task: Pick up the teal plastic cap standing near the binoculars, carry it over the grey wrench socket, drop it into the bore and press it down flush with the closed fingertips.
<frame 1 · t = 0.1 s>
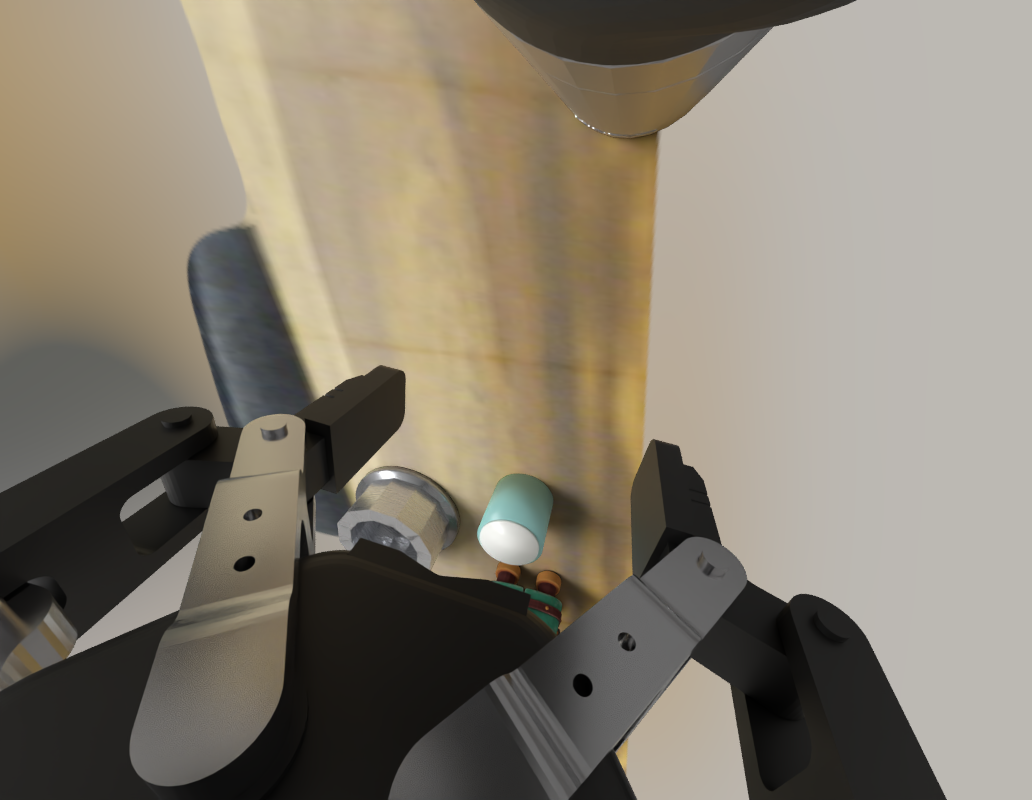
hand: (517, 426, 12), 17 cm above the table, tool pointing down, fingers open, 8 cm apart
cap: (523, 496, 38), on the table
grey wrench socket: (409, 509, 43), on the table
binoculars: (528, 587, 45), on the table
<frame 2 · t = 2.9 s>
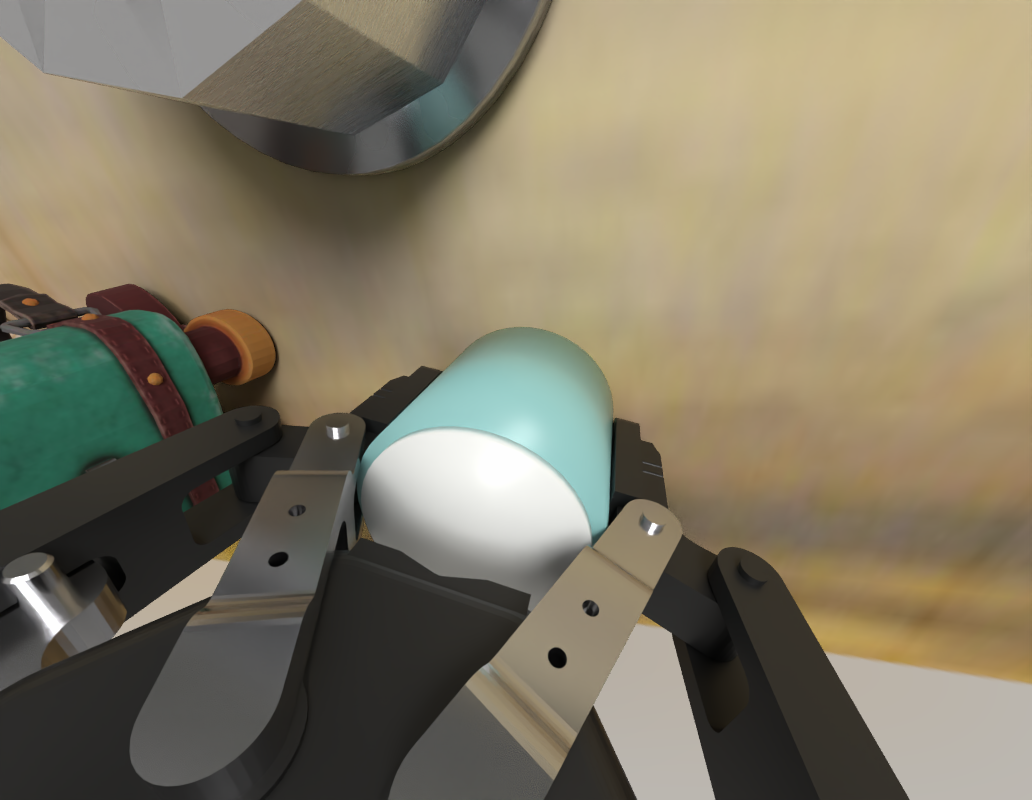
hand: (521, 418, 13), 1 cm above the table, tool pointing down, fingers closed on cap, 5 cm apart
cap: (526, 408, 13), on the table, touching gripper
binoculars: (207, 379, 17), on the table
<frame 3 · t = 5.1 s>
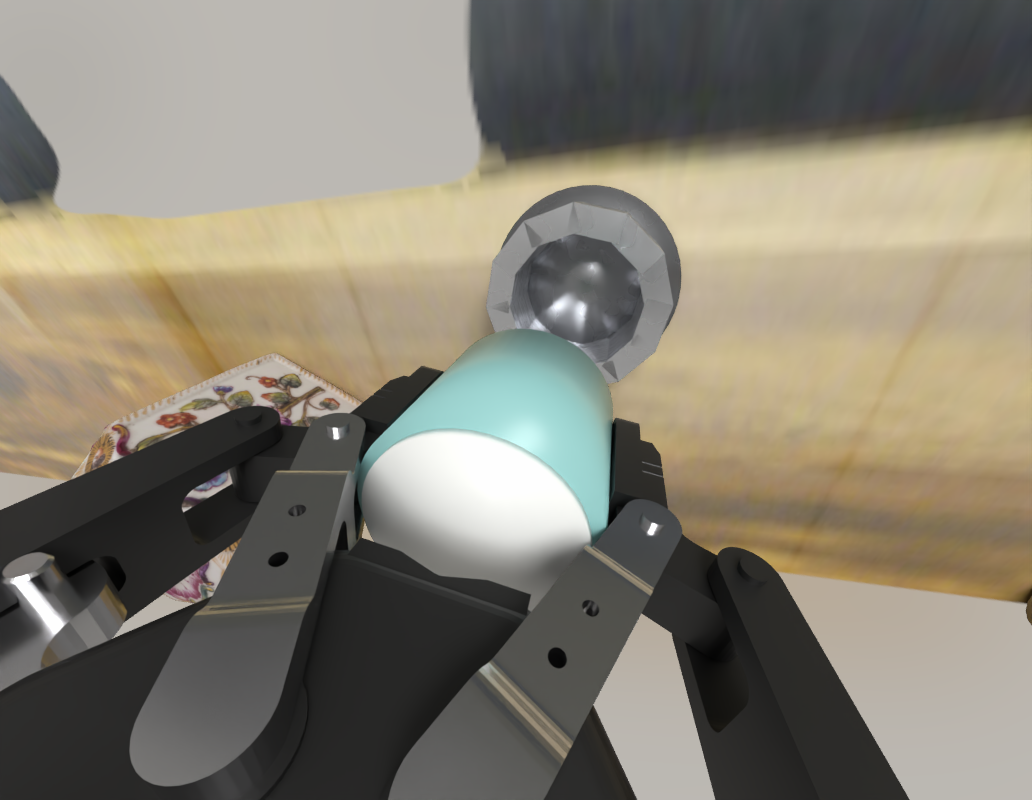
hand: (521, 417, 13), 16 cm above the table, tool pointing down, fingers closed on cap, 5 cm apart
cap: (526, 409, 13), point 15 cm above the table, touching gripper
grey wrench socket: (583, 287, 26), on the table
decorative jar: (318, 422, 39), on the table
when the fingers open (6 cm above the table, at t = 7.1 s): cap drops 5 cm, resting on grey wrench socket.
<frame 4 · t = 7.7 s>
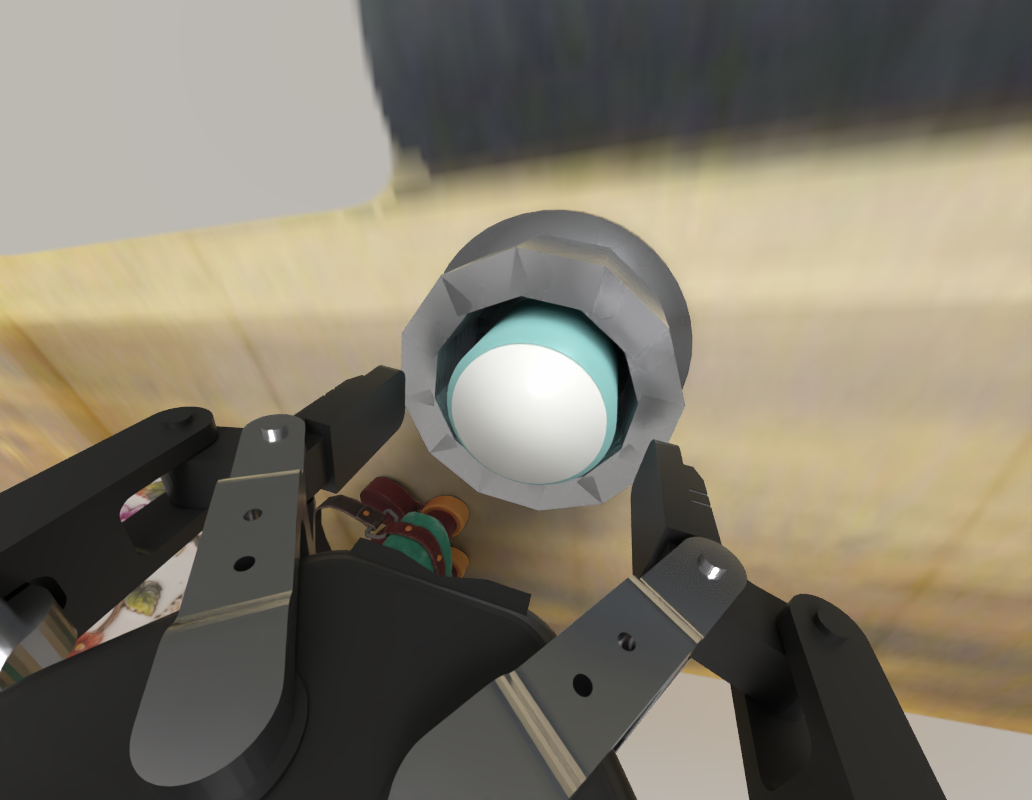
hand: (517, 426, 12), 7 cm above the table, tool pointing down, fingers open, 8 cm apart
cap: (553, 357, 18), point 1 cm above the table, touching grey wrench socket
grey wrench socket: (552, 349, 18), on the table
binoculars: (411, 520, 27), on the table
decorative jar: (237, 499, 31), on the table
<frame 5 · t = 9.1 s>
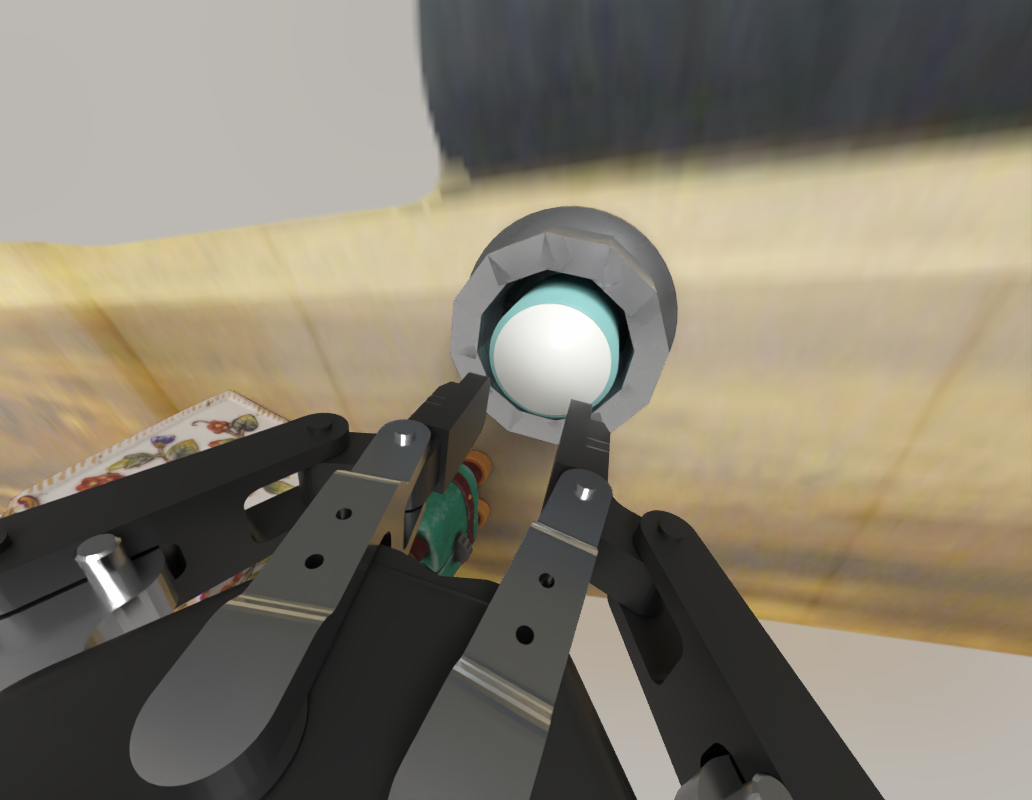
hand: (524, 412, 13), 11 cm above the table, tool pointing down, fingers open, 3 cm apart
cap: (566, 325, 22), point 1 cm above the table, touching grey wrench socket
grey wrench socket: (565, 320, 23), on the table
binoculars: (440, 475, 31), on the table
decorative jar: (283, 462, 35), on the table
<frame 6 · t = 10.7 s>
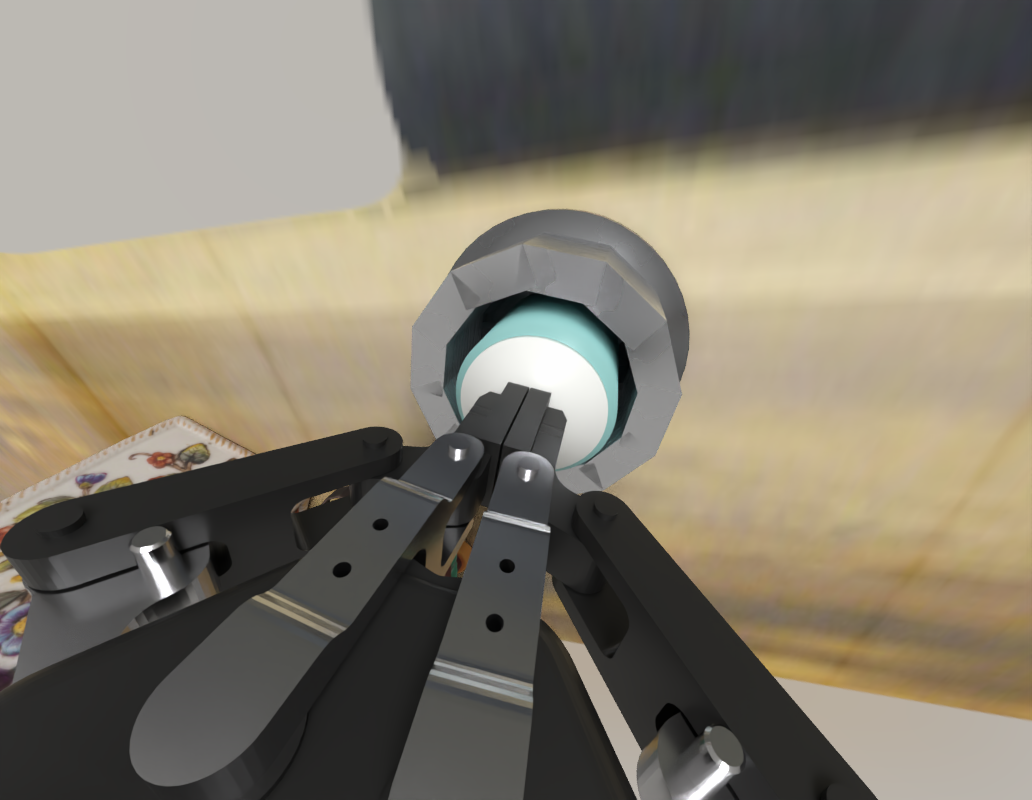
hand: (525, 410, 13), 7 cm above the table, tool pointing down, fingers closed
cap: (556, 351, 18), point 1 cm above the table, touching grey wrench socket
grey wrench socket: (555, 344, 19), on the table
binoculars: (416, 512, 28), on the table
decorative jar: (245, 493, 32), on the table
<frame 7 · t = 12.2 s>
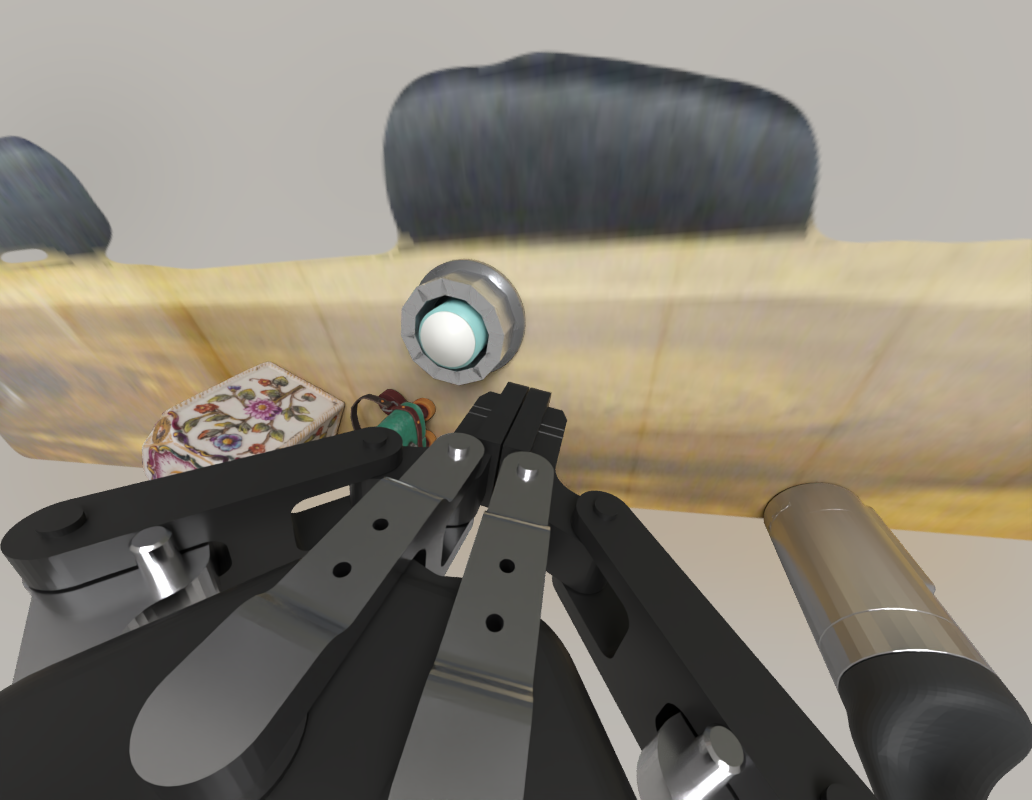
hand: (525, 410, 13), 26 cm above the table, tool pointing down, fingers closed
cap: (468, 321, 40), point 1 cm above the table, touching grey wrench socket
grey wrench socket: (469, 319, 41), on the table
binoculars: (404, 416, 49), on the table
decorative jar: (302, 411, 53), on the table
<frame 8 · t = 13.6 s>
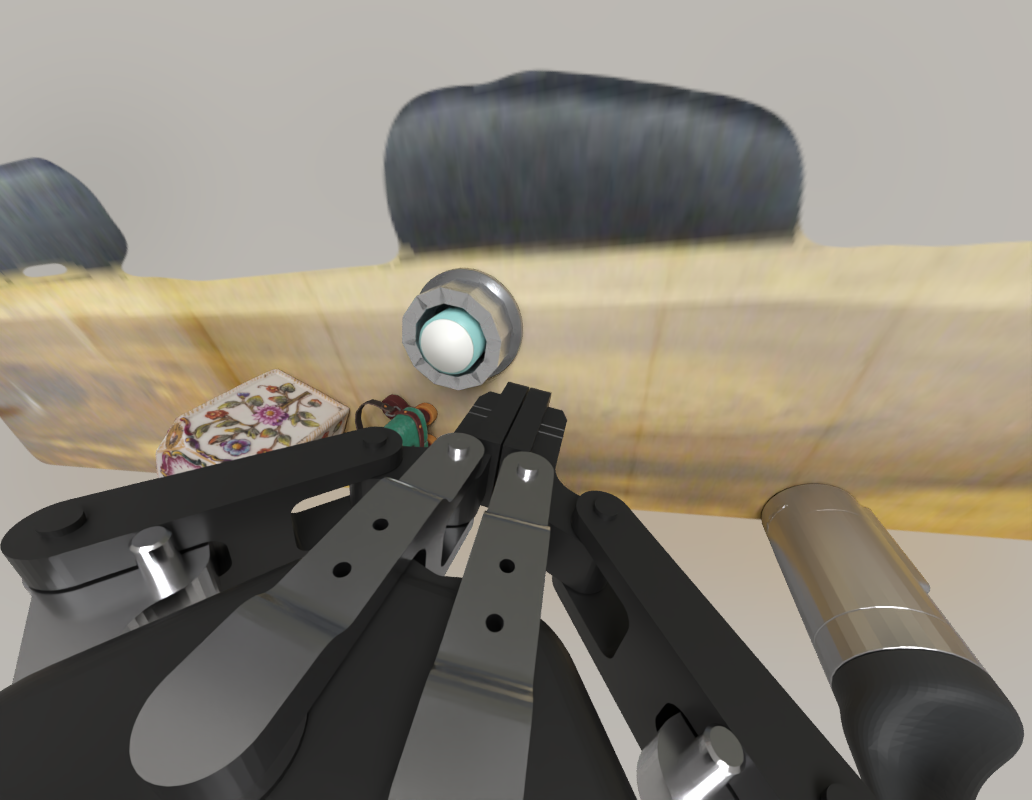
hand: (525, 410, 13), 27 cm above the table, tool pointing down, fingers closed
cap: (467, 328, 41), point 1 cm above the table, touching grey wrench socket
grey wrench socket: (468, 325, 42), on the table
binoculars: (407, 421, 50), on the table
decorative jar: (308, 416, 54), on the table
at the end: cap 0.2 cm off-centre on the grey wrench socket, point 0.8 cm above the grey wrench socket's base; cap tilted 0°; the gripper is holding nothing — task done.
